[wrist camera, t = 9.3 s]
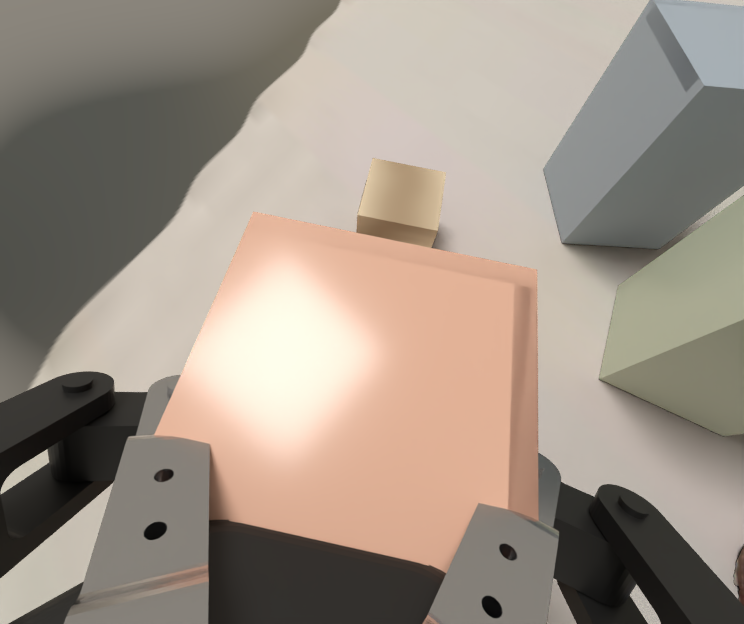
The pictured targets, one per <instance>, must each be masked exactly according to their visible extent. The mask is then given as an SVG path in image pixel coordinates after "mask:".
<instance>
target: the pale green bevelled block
mask: <svg viewBox="0 0 744 624" xmlns="http://www.w3.org/2000/svg"><path fill="white" fill-rule="evenodd" d="M599 379H600V380H602V381H604V382H607V383H609V384H611V385H613V386H615V387H617V388H620V389H622V390H624V391H626V392H628V393H630V394H633V395H635V396H637V397H639V398H641V399H643V400H646V401H648V402H650V403H652V404H654V405H657V406H659V407H661V408H663V409H665V410H667V411H670V412H672V413H674V414H676V415H678V416H680V417H683V418H685V419H687V420H689V421H691V422H693V423H696V424H698V425H700V426H702V427H704V428H707V429H709V430H711V431H713V432H715V433H717V434H720V435H722V436H730V435H738V434H744V195H743V196H742V197H740V198H739V199H738V200H736V201H735V202H733V203H732V204H731V205H729V206H728V207H727V208H725V209H724V210H722V211H721V212H720V213H718V214H717V215H715V216H714V217H713V218H711V219H710V220H709V221H707V222H706V223H704V224H703V225H702V226H700V227H699V228H698V229H696V230H695V231H693V232H692V233H691V234H689V235H688V236H686V237H685V238H684V239H682V240H681V241H680V242H678V243H677V244H675V245H674V246H673V247H671V248H670V249H668V250H667V251H666V252H664V253H663V254H662V255H660V256H659V257H657V258H656V259H655V260H653V261H652V262H651V263H649V264H648V265H646V266H645V267H644V268H642V269H641V270H639V271H638V272H637V273H635V274H634V275H633V276H631V277H630V278H628V279H627V280H626V281H624V282H623V283H621V284H620V285H619V286H618V289H617V294H616V299H615V304H614V309H613V314H612V318H611V323H610V328H609V333H608V338H607V343H606V347H605V352H604V357H603V362H602V367H601V372H600V376H599Z"/></svg>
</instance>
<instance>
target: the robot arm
mask: <svg viewBox="0 0 744 624" xmlns="http://www.w3.org/2000/svg"><path fill="white" fill-rule="evenodd" d="M180 376H181V375H176V376H170V377H166V378H163V379H161V380H159V381H157V382H155V383H154V384H153V385H151V387H150V388H149V390H148V392H114V380H113V378H112V377H111V376H109V375H107V374H104V373H100V372H76V373H70V374H66V375H63V376H60V377H57V378H54V379H52V380H50V381H48V382H45V383H43V384H41V385H39V386H37V387H34V388H32V389H30V390H28V391H26V392H23V393H21V394H19V395H17V396H15V397H13V398H10V399H8V400H6V401H4V402H2V403H0V491H1V487H2V485H3V483H4V481H5V480H6V478H7V477H8V476H9V475H10V474H11V473H12V472H13V471H14V470H15V469H16V468H18V467H19V466H21V465H22V464H24V463H25V462H27V461H29V460H30V459H32V458H33V457H35V456H37V455H38V454H40V453H42V452H43V451H45V450H46V449H48V456H49V463H48V464H47V465H45V466H43V467H42V468H40V469H39V470H37V471H36V472H34V473H33V474H31V475H30V476H28V477H27V478H25V479H24V480H22V481H21V482H19V483H18V484H16V485H15V486H13V487H12V488H10V489H9V490H7V491H6V492H4V493H3V494H1V495H0V578H1V577H2V576H4V575H5V574H6V573H7V572H8V571H9V570H11V569H12V568H13V567H14V566H15V565H17V564H18V563H19V562H20V561H21V560H22V559H24V558H25V557H26V556H27V555H28V554H30V553H31V552H32V551H33V550H34V549H35V548H37V547H38V546H39V545H40V544H41V543H43V542H44V541H45V540H46V539H47V538H48V537H50V536H51V535H52V534H53V533H54V532H56V531H57V530H58V529H59V528H60V527H61V526H63V525H64V524H65V523H66V522H67V521H68V520H70V519H71V518H72V517H73V516H74V515H76V514H77V513H78V512H79V511H80V510H81V509H83V508H84V507H85V506H86V505H87V504H89V503H90V502H91V501H92V500H93V499H94V498H96V497H97V496H98V495H99V494H100V493H102V492H103V491H104V490H105V489H106V488H107V487H109V486H110V485H111V484H112V483H113V482H114V484H113V487H112V490H111V494H110V497H109V500H108V503H107V507H106V510H105V513H104V517H103V520H102V523H101V527H100V530H99V533H98V537H97V540H96V543H95V546H94V550H93V553H92V556H91V560H90V563H89V566H88V570H87V573H86V576H85V580H84V582H82V583H80V584H79V585H77V586H75V587H73V588H71V589H70V590H68V591H66V592H64V593H63V594H61V595H59V596H57V597H55V598H54V599H52V600H50V601H48V602H46V603H45V604H43V605H41V606H39V607H38V608H36V609H34V610H32V611H30V612H29V613H27V614H25V615H23V616H21V617H20V618H18V619H16V620H14V621H12V622H11V623H9V624H547V618H548V611H549V604H550V597H551V590H552V583H553V578H555V579H556V580H557V582H558V585H559V587H560V590H561V592H562V594H563V596H564V598H565V600H566V602H567V604H568V606H569V608H570V610H571V612H572V614H573V616H574V619H575V621H576V623H577V624H648V623H647V622H646V620H645V619H644V617H643V616H642V614H641V612H640V611H639V609H638V608H637V606H636V605H635V603H634V602H633V600H632V598H631V597H630V593H631V592H632V590H633V589H634V587H635V585H636V584H637V585H638V586H639V588H640V589H641V591H642V592H643V594H644V595H645V597H646V598H647V600H648V601H649V603H650V604H651V606H652V607H653V608H654V610H655V612H656V613H657V615H658V617H659V619H660V622H661V624H744V606H743V604H742V603H741V602H740V601H739V600H738V599H737V598H736V597H735V596H734V594H733V593H732V592H731V591H730V590H729V589H728V588H727V587H726V586H725V584H724V583H723V582H722V581H721V580H720V579H719V578H718V577H717V575H716V574H715V573H714V572H713V571H712V570H711V569H710V568H709V567H708V565H707V564H706V563H705V562H704V561H703V560H702V559H701V558H700V557H699V555H698V554H697V553H696V552H695V551H694V550H693V549H692V548H691V546H690V545H689V544H688V543H687V542H686V541H685V540H684V539H683V538H682V536H681V535H680V534H679V533H678V532H677V531H676V530H675V529H674V528H673V526H672V525H671V524H670V523H669V522H668V521H667V520H666V519H665V517H664V516H663V515H662V514H661V513H660V512H659V511H658V510H657V509H656V508H655V507H654V506H653V505H652V504H651V503H649V502H648V501H647V500H645V499H644V498H642V497H641V496H639V495H638V494H636V493H634V492H632V491H630V490H628V489H626V488H623V487H620V486H617V485H611V484H606V485H602V486H600V487H599V489H598V491H597V493H596V495H595V497H593V496H591V495H589V494H586V493H584V492H582V491H580V490H577V489H575V488H573V487H570V486H568V485H566V484H564V483H562V482H561V475H560V473H559V471H558V469H557V468H556V466H555V465H554V464H553V463H552V462H551V461H550V460H548V459H547V458H546V457H544V456H543V455H541V454H540V453H538V513H539V521H538V520H536V519H534V518H531V517H529V516H526V515H524V514H521V513H518V512H515V511H511V510H508V509H504V508H499V507H495V506H490V505H486V504H481V503H478V505H477V507H476V510H475V512H474V514H473V516H472V518H471V521H470V523H469V525H468V527H467V529H466V532H465V534H464V536H463V538H462V540H461V543H460V545H459V547H458V549H457V551H456V554H455V556H454V558H453V560H452V562H451V564H450V567H449V569H448V571H447V573H445V572H443V571H442V570H440V569H437V568H435V567H433V566H431V565H429V566H427V565H424V564H421V563H417V562H413V561H409V560H404V559H400V558H395V557H391V556H386V555H382V554H378V553H373V552H369V551H364V550H360V549H355V548H351V547H346V546H342V545H338V544H333V543H329V542H324V541H320V540H315V539H311V538H306V537H302V536H297V535H293V534H289V533H284V532H280V531H275V530H271V529H266V528H262V527H257V526H253V525H248V524H244V523H239V522H232V521H229V520H209V469H210V444H208V443H204V442H199V441H195V440H190V439H185V438H180V437H174V436H161V435H154V434H155V432H156V430H157V427H158V425H159V423H160V421H161V418H162V416H163V414H164V412H165V409H166V407H167V405H168V403H169V400H170V398H171V396H172V394H173V391H174V389H175V387H176V385H177V382H178V380H179V378H180Z"/></svg>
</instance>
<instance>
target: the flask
mask: <svg viewBox="0 0 744 624" xmlns="http://www.w3.org/2000/svg"><path fill="white" fill-rule="evenodd" d="M740 553H741V554H740V555H739V558H738V559H737V561H736V569H735V570H734V571H735V574H734V584H735V585H736V586H739V588H740V590H741V591H739V601H740V602H741V603H742V604H743V606H744V546H743V549H742V551H741V552H740Z"/></svg>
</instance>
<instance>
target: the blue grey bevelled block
mask: <svg viewBox="0 0 744 624" xmlns="http://www.w3.org/2000/svg"><path fill="white" fill-rule="evenodd" d="M543 170H544V174H545V178H546V182H547V186H548V190H549V194H550V198H551V202H552V206H553V210H554V214H555V218H556V222H557V226H558V230H559V234H560V238H561V242H562V243H568V244H584V245H600V246H617V247H633V248H649V249H660V248H661V247H662V246H664V245H665V244H666V243H668V242H669V241H670V240H672V239H673V238H674V237H676V236H677V235H678V234H680V233H681V232H682V231H684V230H685V229H686V228H688V227H689V226H690V225H692V224H693V223H694V222H696V221H697V220H698V219H700V218H701V217H702V216H704V215H705V214H706V213H708V212H709V211H710V210H712V209H713V208H714V207H716V206H717V205H719V204H720V203H721V202H723V201H724V200H725V199H727V198H728V197H729V196H731V195H732V194H733V193H735V192H736V191H737V190H739V189H740V188H741V187H743V186H744V6H734V5H724V4H714V3H704V2H694V1H684V0H650V1H649V2H648V4H647V6H646V7H645V9H644V10H643V12H642V14H641V15H640V17H639V18H638V20H637V21H636V23H635V25H634V26H633V28H632V29H631V31H630V33H629V34H628V36H627V37H626V39H625V40H624V42H623V44H622V45H621V47H620V48H619V50H618V52H617V53H616V55H615V56H614V58H613V59H612V61H611V63H610V64H609V66H608V67H607V69H606V71H605V72H604V74H603V75H602V77H601V78H600V80H599V82H598V83H597V85H596V86H595V88H594V89H593V91H592V93H591V94H590V96H589V97H588V99H587V101H586V102H585V104H584V105H583V107H582V108H581V110H580V112H579V113H578V115H577V116H576V118H575V120H574V121H573V123H572V124H571V126H570V127H569V129H568V131H567V132H566V134H565V135H564V137H563V139H562V140H561V142H560V143H559V145H558V146H557V148H556V150H555V151H554V153H553V154H552V156H551V158H550V159H549V161H548V162H547V164H546V165H545V167H544V169H543Z"/></svg>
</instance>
